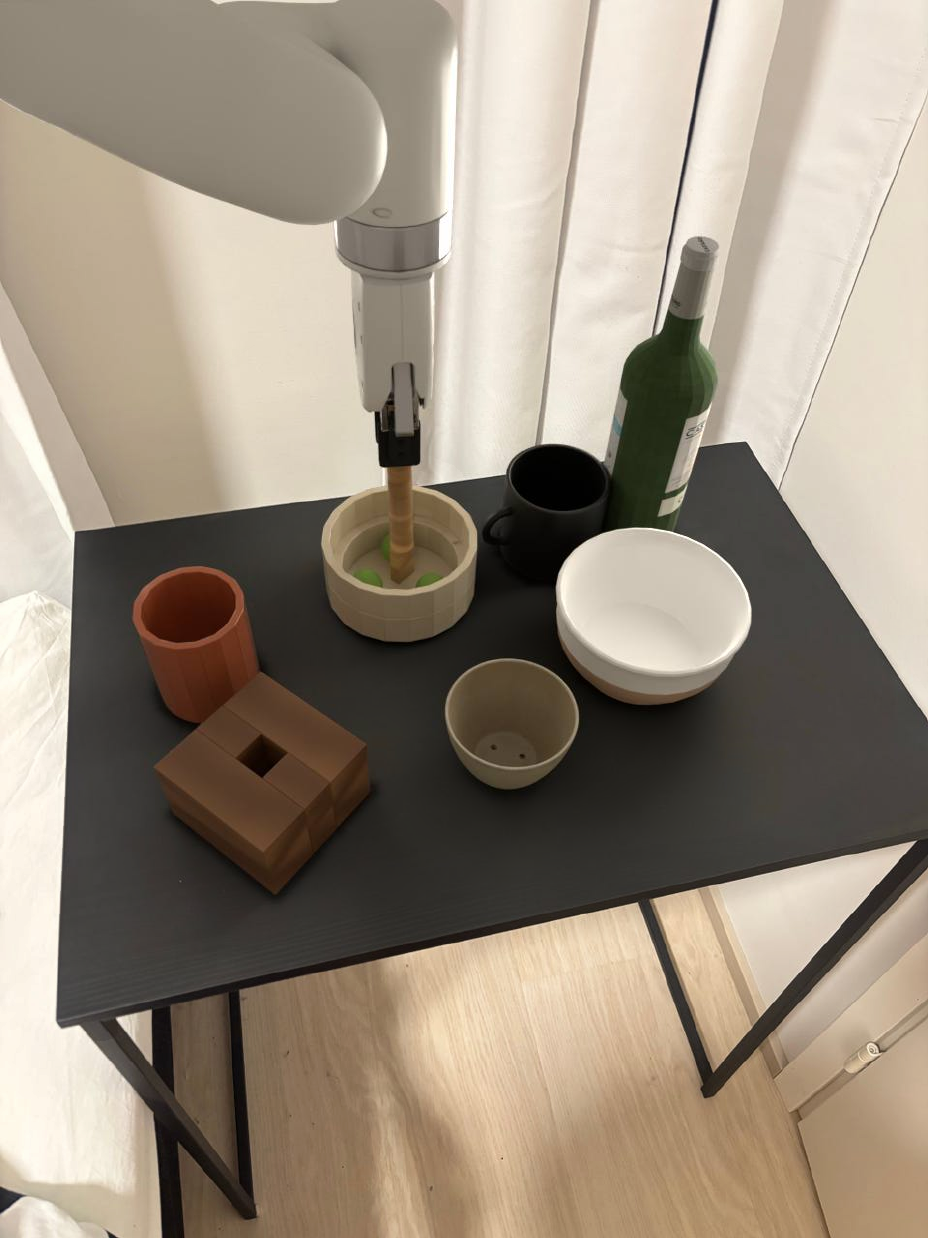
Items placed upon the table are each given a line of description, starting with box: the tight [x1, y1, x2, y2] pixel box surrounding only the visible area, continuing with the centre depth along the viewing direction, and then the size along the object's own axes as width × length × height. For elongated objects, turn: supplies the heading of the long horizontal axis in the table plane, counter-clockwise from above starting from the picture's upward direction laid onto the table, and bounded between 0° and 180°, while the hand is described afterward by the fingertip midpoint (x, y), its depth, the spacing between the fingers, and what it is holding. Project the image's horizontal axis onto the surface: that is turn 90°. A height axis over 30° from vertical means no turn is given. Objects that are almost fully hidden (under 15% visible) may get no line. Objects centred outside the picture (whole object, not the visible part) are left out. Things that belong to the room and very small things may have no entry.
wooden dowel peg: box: [386, 405, 414, 585], centre depth 76 cm, size 2×2×20 cm
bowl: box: [555, 528, 752, 706], centre depth 79 cm, size 16×16×8 cm
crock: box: [132, 565, 261, 724], centre depth 74 cm, size 8×8×10 cm
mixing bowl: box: [320, 484, 478, 643], centre depth 83 cm, size 13×13×7 cm
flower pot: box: [444, 658, 580, 790], centre depth 71 cm, size 10×10×7 cm
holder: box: [153, 671, 371, 896], centre depth 68 cm, size 11×11×7 cm
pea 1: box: [352, 569, 383, 588], centre depth 82 cm, size 3×3×3 cm
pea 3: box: [415, 573, 443, 588], centre depth 82 cm, size 3×3×3 cm
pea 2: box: [381, 533, 391, 562], centre depth 86 cm, size 3×3×3 cm
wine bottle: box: [601, 235, 721, 534], centre depth 80 cm, size 8×8×30 cm
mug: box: [481, 443, 611, 582], centre depth 86 cm, size 9×12×9 cm
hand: (397, 451), depth 73 cm, fingers closed on wooden dowel peg, 2 cm apart
